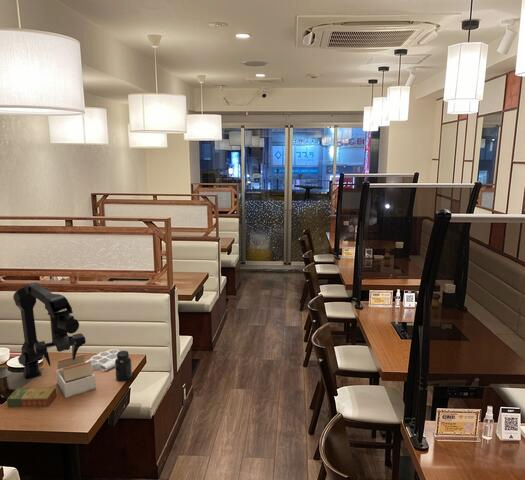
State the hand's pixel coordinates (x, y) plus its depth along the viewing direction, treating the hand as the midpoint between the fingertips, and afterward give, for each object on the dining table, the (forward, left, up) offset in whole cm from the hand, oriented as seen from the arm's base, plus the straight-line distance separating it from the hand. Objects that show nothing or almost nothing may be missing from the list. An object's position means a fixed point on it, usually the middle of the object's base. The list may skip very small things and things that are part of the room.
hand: (61, 362), depth 193 cm
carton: (0, -12, -14) cm, 18 cm away
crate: (-2, +5, -13) cm, 15 cm away
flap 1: (-8, +5, -4) cm, 10 cm away
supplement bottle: (+3, +24, -14) cm, 28 cm away
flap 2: (+3, +5, -4) cm, 7 cm away
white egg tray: (-16, +22, -14) cm, 31 cm away
